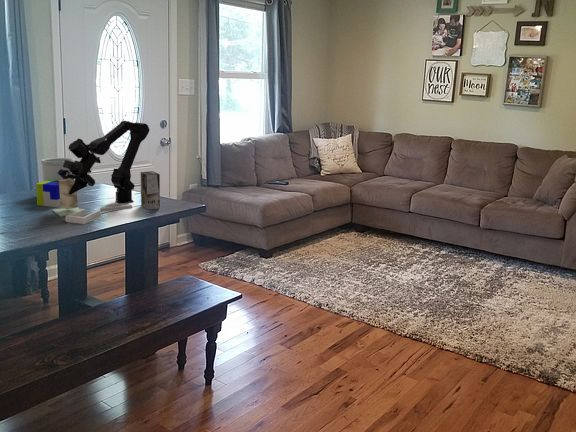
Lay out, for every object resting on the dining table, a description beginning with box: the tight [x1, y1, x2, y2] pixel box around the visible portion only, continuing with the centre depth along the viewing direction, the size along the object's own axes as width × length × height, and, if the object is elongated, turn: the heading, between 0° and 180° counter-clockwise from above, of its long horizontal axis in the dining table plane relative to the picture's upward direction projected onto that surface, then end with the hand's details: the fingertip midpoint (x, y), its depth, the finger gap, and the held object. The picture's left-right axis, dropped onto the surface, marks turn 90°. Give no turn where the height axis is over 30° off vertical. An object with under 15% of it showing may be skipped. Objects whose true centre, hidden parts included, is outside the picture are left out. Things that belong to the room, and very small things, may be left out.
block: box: [59, 179, 79, 209], centre depth 258 cm, size 5×5×12 cm
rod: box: [100, 204, 133, 212], centre depth 268 cm, size 14×2×2 cm, turn 127°
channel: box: [64, 208, 102, 225], centre depth 249 cm, size 13×8×2 cm, turn 168°
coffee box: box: [140, 170, 161, 210], centre depth 273 cm, size 9×6×16 cm
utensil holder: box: [40, 157, 75, 181], centre depth 289 cm, size 15×15×18 cm
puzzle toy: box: [35, 180, 60, 208], centre depth 272 cm, size 10×10×10 cm
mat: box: [51, 207, 83, 217], centre depth 260 cm, size 11×11×1 cm
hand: (65, 193), depth 256 cm, fingers closed on block, 5 cm apart
